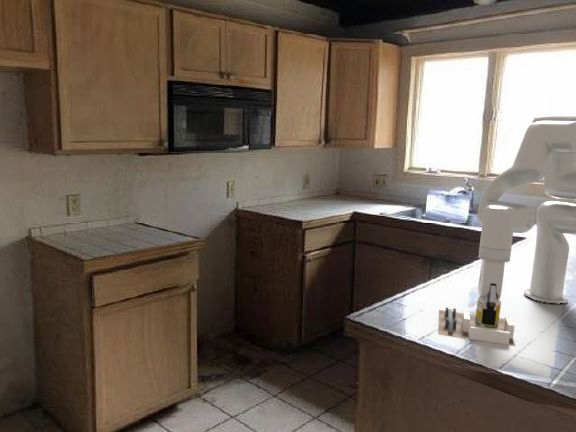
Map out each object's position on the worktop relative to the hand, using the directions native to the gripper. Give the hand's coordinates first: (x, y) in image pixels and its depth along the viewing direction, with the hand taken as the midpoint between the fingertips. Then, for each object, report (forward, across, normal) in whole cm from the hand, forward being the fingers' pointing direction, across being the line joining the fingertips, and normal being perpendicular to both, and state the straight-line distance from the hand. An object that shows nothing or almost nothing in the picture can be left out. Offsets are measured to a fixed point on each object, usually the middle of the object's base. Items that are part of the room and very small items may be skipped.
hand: (487, 319), depth 132 cm
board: (+3, 0, -3) cm, 4 cm away
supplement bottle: (+2, 0, 0) cm, 2 cm away
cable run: (+2, 0, -9) cm, 9 cm away
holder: (+2, +4, 0) cm, 5 cm away
